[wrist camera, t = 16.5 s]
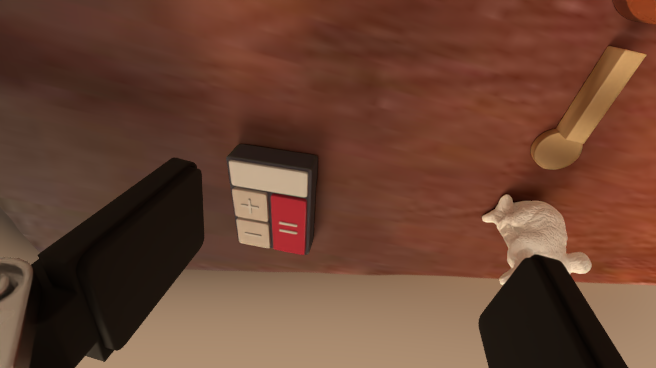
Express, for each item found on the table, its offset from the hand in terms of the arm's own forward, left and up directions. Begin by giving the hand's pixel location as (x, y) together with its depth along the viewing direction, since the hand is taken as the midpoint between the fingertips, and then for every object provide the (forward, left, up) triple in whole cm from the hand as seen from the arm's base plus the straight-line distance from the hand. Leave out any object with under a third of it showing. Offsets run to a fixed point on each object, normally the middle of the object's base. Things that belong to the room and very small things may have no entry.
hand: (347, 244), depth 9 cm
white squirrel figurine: (+19, +15, -28) cm, 37 cm away
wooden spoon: (+7, +19, -28) cm, 35 cm away
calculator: (+16, -16, -28) cm, 36 cm away
